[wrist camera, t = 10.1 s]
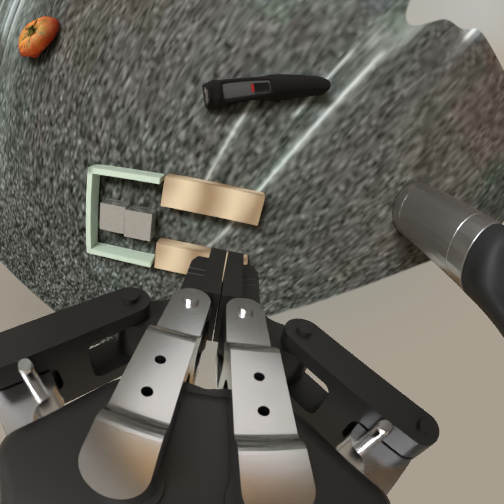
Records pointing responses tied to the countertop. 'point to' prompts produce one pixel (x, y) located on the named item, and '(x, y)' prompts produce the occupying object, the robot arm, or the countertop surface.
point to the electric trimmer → (262, 88)
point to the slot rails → (208, 203)
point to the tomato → (37, 36)
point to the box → (92, 213)
